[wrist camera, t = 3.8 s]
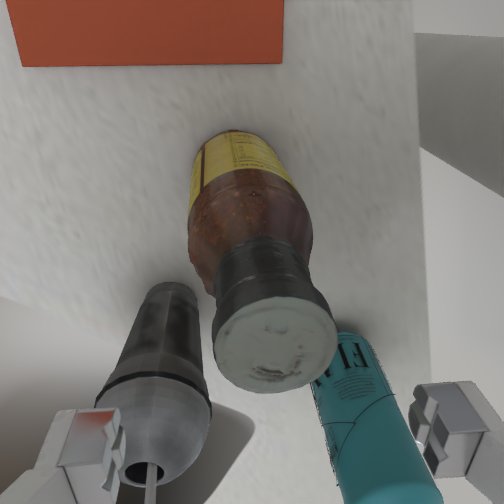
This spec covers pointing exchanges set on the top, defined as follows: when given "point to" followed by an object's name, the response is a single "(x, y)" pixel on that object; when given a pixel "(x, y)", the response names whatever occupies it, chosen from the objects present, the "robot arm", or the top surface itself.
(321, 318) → the sauce bottle
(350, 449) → the beverage bottle
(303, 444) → the top surface
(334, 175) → the top surface
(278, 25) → the condiment mat
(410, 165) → the top surface
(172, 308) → the beverage cup
